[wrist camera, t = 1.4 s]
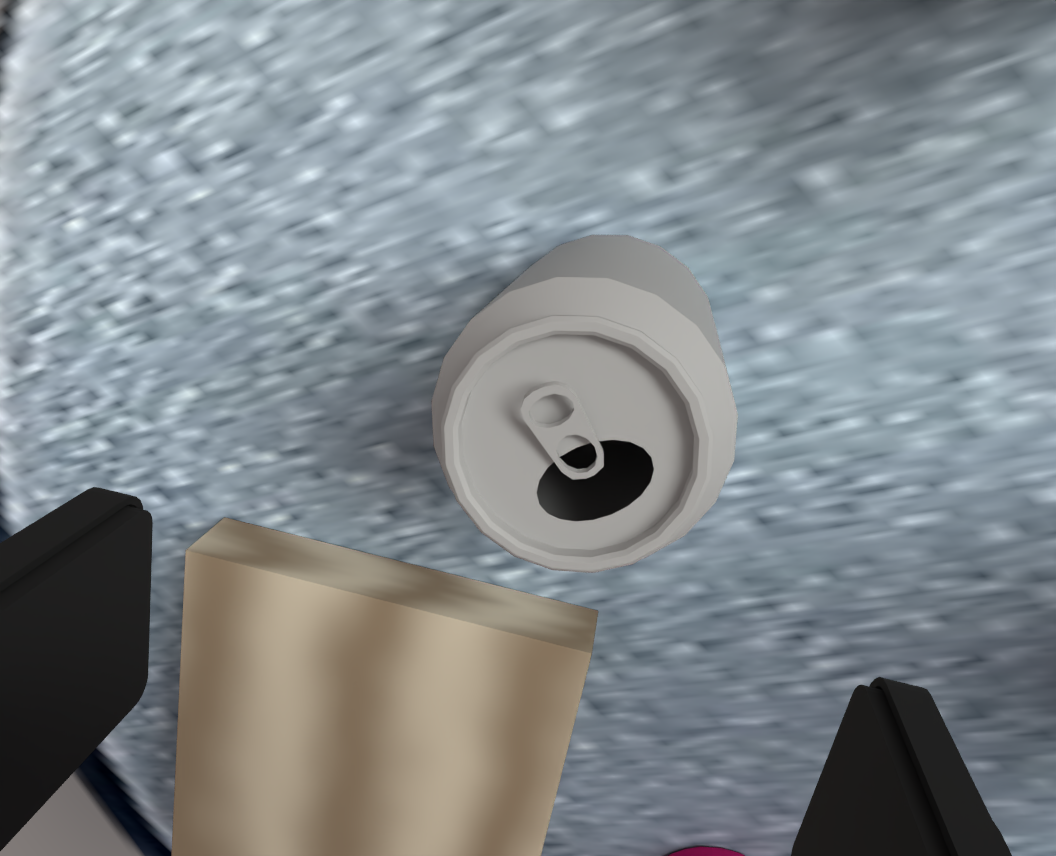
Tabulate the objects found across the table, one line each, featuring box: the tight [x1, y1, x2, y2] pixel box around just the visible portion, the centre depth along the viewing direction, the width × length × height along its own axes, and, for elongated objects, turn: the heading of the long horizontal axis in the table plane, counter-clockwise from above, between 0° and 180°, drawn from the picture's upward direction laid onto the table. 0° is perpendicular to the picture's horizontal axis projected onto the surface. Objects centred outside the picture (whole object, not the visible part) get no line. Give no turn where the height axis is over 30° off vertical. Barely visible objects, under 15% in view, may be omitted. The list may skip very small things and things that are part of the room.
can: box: [431, 235, 738, 573], centre depth 24 cm, size 8×8×12 cm
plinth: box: [172, 517, 598, 856], centre depth 36 cm, size 16×16×3 cm
